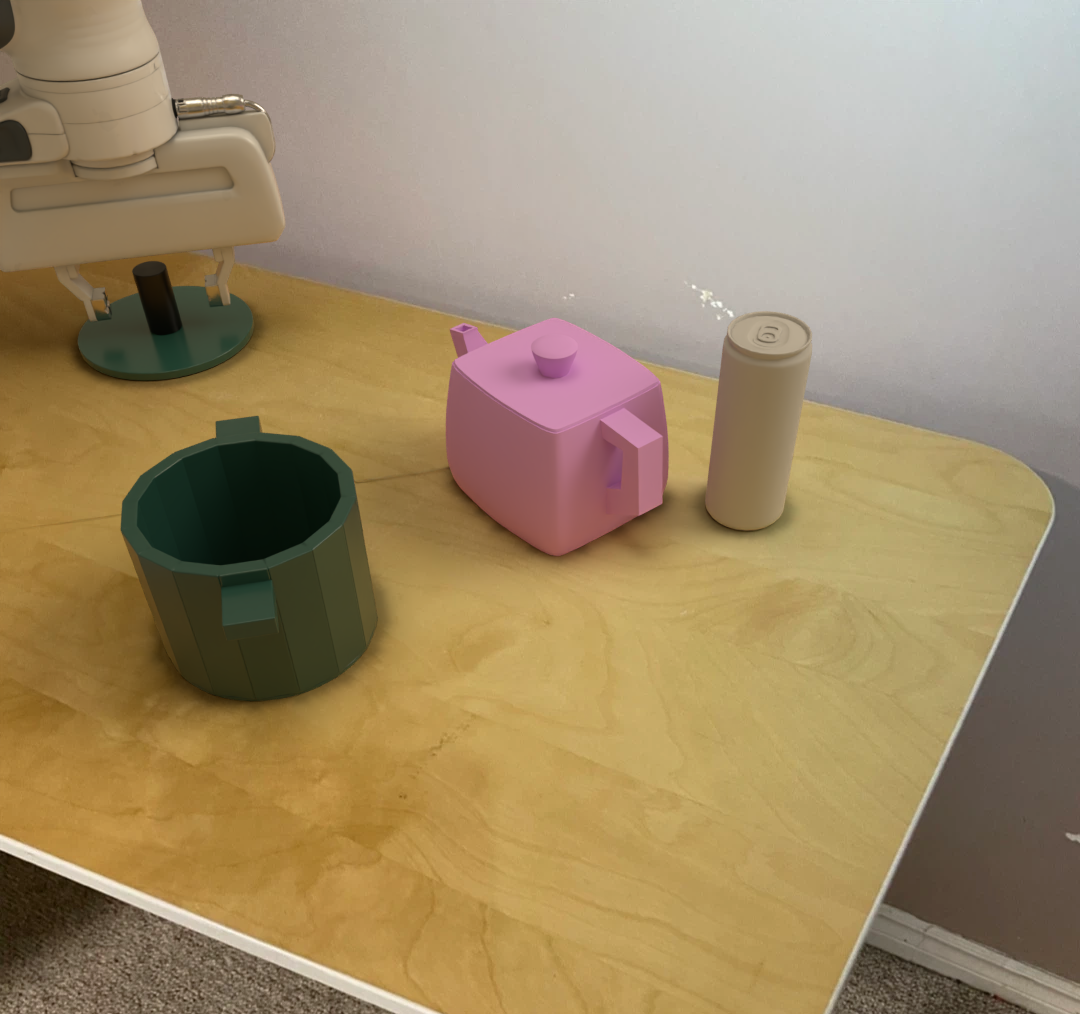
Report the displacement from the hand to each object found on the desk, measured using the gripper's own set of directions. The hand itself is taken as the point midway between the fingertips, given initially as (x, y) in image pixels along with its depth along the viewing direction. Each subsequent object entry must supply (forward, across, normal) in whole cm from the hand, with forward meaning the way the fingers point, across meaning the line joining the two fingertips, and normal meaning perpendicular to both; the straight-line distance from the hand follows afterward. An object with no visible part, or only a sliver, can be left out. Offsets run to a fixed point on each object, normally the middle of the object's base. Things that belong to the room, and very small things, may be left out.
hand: (161, 310), depth 82 cm
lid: (+2, 0, 0) cm, 2 cm away
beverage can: (+3, -35, +29) cm, 46 cm away
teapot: (+3, -24, +24) cm, 34 cm away
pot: (+3, -6, +33) cm, 34 cm away
